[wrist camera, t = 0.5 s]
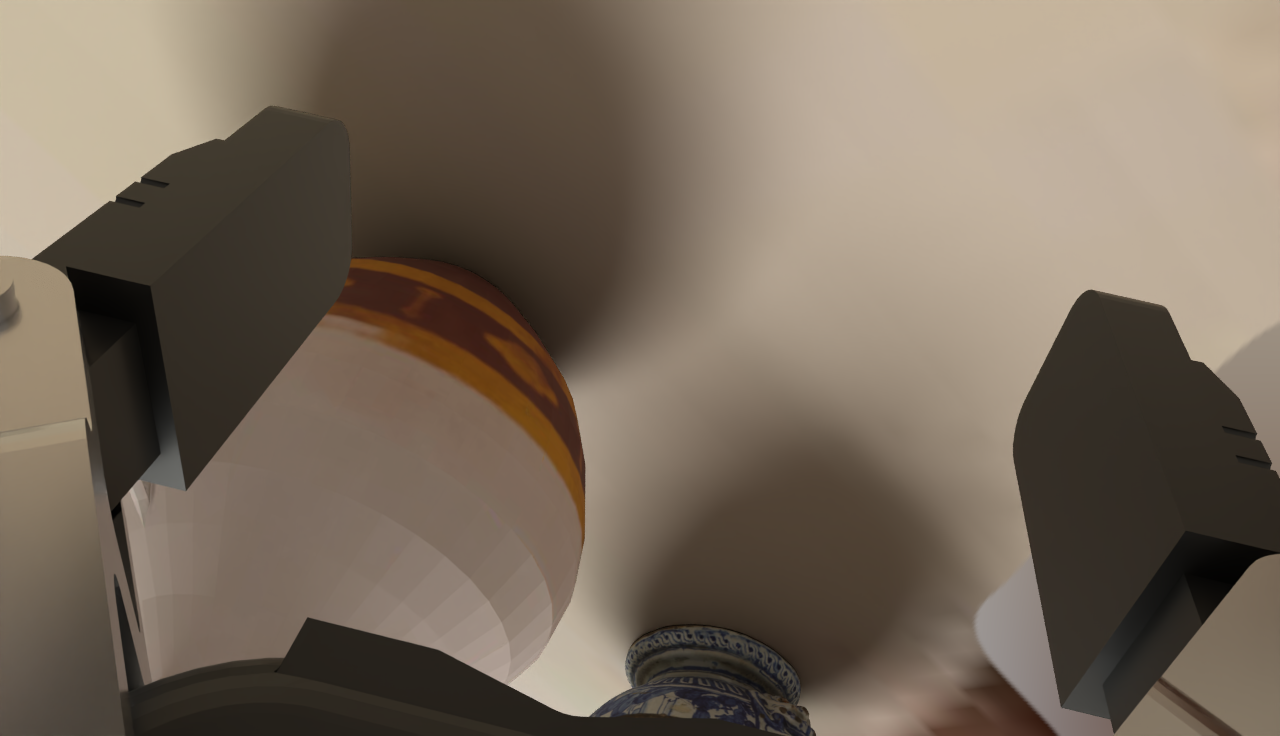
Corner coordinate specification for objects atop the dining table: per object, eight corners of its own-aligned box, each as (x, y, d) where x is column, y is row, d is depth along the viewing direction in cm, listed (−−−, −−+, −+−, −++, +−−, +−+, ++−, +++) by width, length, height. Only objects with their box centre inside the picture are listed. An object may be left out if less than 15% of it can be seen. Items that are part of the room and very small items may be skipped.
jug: (147, 205, 44) (-595, 955, 22) (463, 49, 35) (-231, 1000, 14) (414, 490, 54) (84, 1189, 33) (707, 421, 46) (523, 1294, 24)
